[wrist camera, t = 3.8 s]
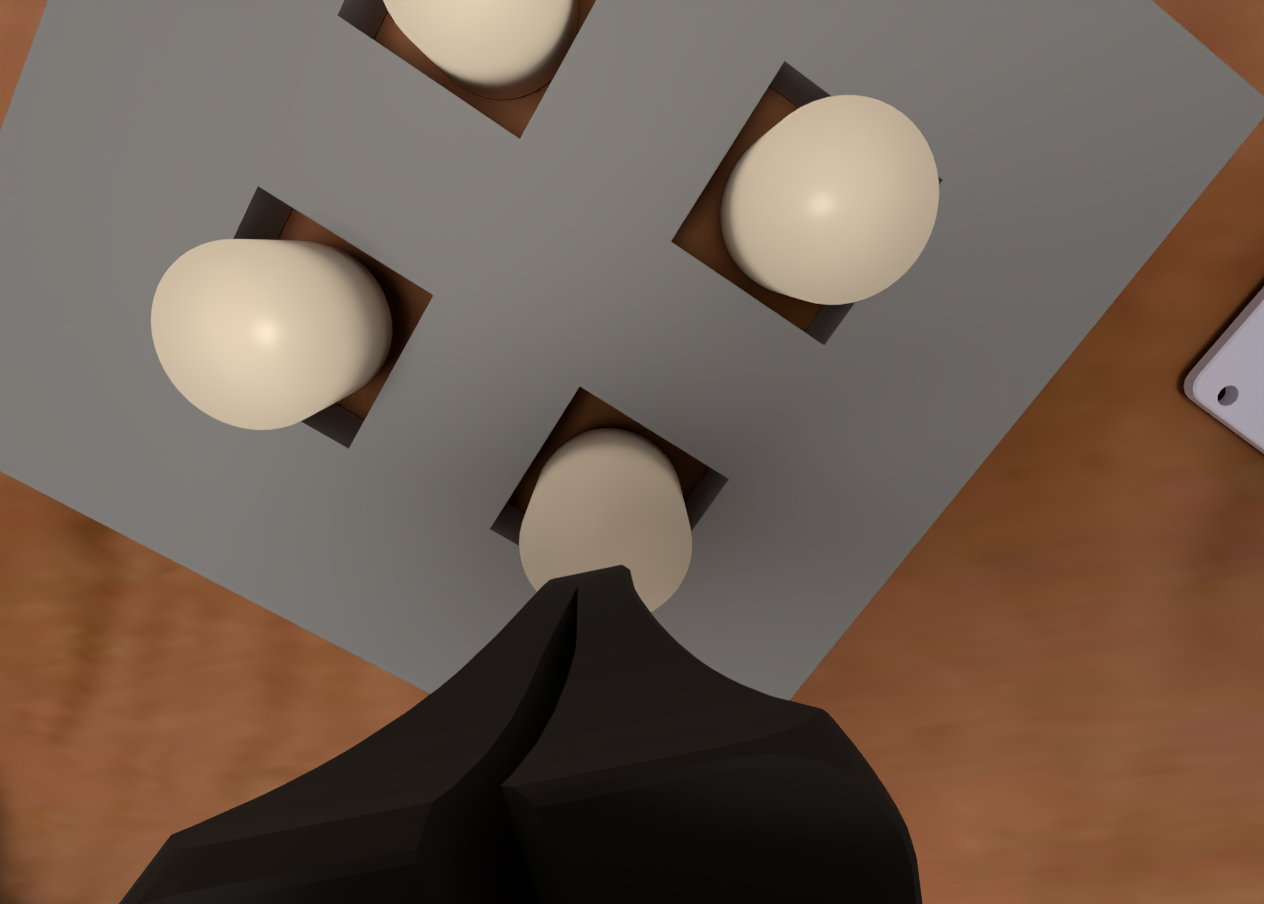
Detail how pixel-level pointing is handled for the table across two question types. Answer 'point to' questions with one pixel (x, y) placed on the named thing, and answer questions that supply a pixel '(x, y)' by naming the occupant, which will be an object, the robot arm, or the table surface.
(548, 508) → the button
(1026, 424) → the table surface
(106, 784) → the table surface
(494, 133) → the board
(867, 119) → the button
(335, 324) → the button
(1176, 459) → the table surface
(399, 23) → the button
